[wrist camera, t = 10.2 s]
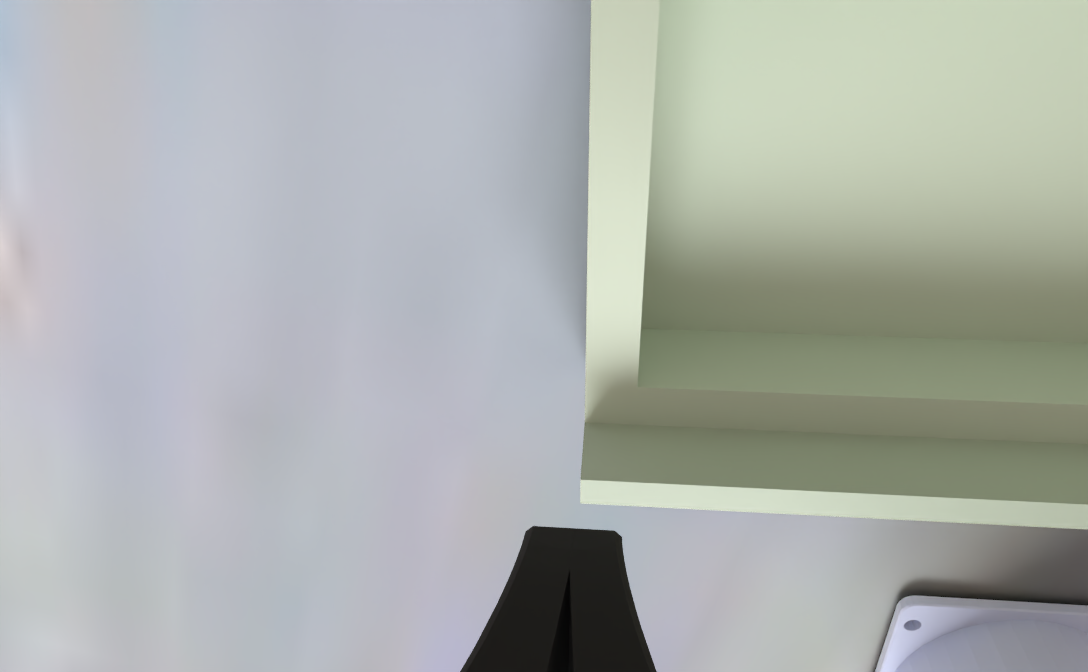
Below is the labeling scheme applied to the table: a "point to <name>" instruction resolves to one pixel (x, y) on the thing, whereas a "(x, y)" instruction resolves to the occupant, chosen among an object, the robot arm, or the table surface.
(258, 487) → the table surface
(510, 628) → the robot arm
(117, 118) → the table surface
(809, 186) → the green tray
